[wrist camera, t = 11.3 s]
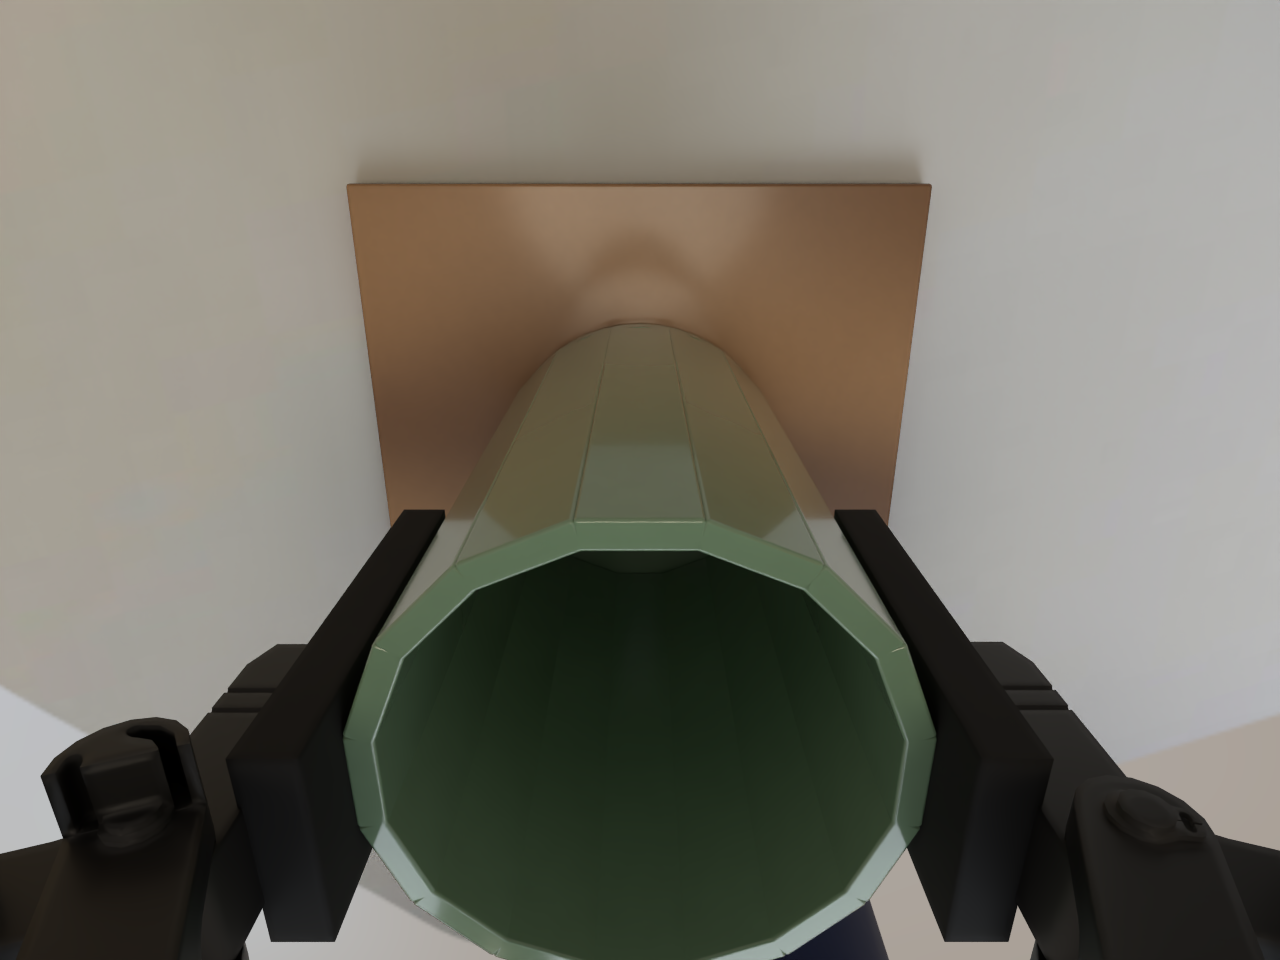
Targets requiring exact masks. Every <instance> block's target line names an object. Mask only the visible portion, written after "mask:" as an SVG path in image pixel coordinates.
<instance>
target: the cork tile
mask: <svg viewBox="0 0 1280 960" xmlns="http://www.w3.org/2000/svg"><path fill="white" fill-rule="evenodd" d="M931 189H932V186H931V184H348V185H347V194H348V202H349V210H350V217H351V225H352V233H353V240H354V248H355V256H356V263H357V271H358V279H359V286H360V294H361V302H362V309H363V317H364V325H365V332H366V340H367V348H368V355H369V363H370V371H371V378H372V386H373V394H374V401H375V409H376V417H377V424H378V432H379V440H380V447H381V455H382V463H383V470H384V478H385V486H386V493H387V501H388V509H389V516H390V524H391V527H392V526H393V524H394V523H395V521H396V520H397V519H398V517H399V516H400V514H401V513H402V512H403V510H404V509H445V517H446V516H447V514H448V513H449V511H450V509H451V507H452V506H453V504H454V502H455V500H456V499H457V497H458V495H459V494H460V492H461V490H462V488H463V487H464V485H465V483H466V481H467V480H468V478H469V476H470V475H471V473H472V471H473V469H474V468H475V466H476V464H477V462H478V461H479V459H480V457H481V455H482V454H483V452H484V450H485V449H486V447H487V445H488V443H489V442H490V440H491V438H492V436H493V435H494V433H495V431H496V429H497V428H498V426H499V424H500V423H501V421H502V419H503V417H504V416H505V414H506V412H507V410H508V409H509V407H510V405H511V404H512V402H513V400H514V398H515V397H516V395H517V393H518V391H519V390H520V388H521V387H522V386H523V385H524V384H525V383H526V382H527V381H528V380H529V378H530V377H531V376H532V375H533V374H534V372H535V371H536V370H537V369H538V368H539V367H540V365H541V364H542V363H543V362H545V361H546V360H547V359H548V358H549V357H550V356H551V355H552V354H553V353H555V352H556V351H558V350H559V349H561V348H562V347H563V346H565V345H566V344H568V343H569V342H571V341H573V340H575V339H577V338H579V337H581V336H583V335H585V334H588V333H591V332H594V331H597V330H600V329H603V328H608V327H613V326H618V325H626V324H653V325H662V326H667V327H672V328H677V329H680V330H683V331H685V332H688V333H691V334H694V335H696V336H698V337H700V338H702V339H704V340H706V341H708V342H710V343H712V344H713V345H715V346H716V347H718V348H719V349H721V350H722V351H724V352H725V353H726V354H727V355H728V356H730V357H731V358H732V359H733V360H734V361H735V362H736V363H737V364H738V365H739V366H740V367H741V368H742V369H743V370H744V372H745V373H746V374H747V375H748V376H749V378H750V379H751V380H752V381H753V382H754V383H755V385H756V386H757V387H758V388H759V389H760V391H761V392H762V394H763V395H764V397H765V399H766V401H767V402H768V404H769V406H770V408H771V409H772V411H773V413H774V415H775V416H776V418H777V420H778V422H779V423H780V425H781V427H782V428H783V430H784V432H785V434H786V435H787V437H788V439H789V441H790V442H791V444H792V446H793V448H794V449H795V451H796V453H797V454H798V456H799V458H800V460H801V461H802V463H803V465H804V467H805V468H806V470H807V472H808V474H809V475H810V477H811V479H812V481H813V482H814V484H815V486H816V487H817V489H818V491H819V493H820V494H821V496H822V498H823V500H824V501H825V503H826V505H827V507H828V508H829V510H830V512H831V513H832V515H833V517H834V512H835V509H875V510H876V511H877V512H878V514H879V515H880V517H881V518H882V519H883V521H884V522H885V523H886V525H887V526H888V520H889V513H890V505H891V497H892V490H893V482H894V474H895V466H896V459H897V451H898V443H899V436H900V428H901V420H902V413H903V405H904V397H905V389H906V382H907V374H908V366H909V359H910V351H911V343H912V335H913V328H914V320H915V312H916V305H917V297H918V289H919V282H920V274H921V266H922V258H923V251H924V243H925V235H926V228H927V220H928V212H929V204H930V197H931Z"/></svg>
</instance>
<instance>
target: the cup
mask: <svg viewBox="0 0 1280 960" xmlns="http://www.w3.org/2000/svg"><path fill="white" fill-rule="evenodd" d="M936 742H937V738H936V729H935V726H934V723H933V720H932V717H931V714H930V711H929V708H928V705H927V702H926V699H925V696H924V693H923V690H922V687H921V684H920V681H919V678H918V675H917V672H916V669H915V667H914V664H913V661H912V658H911V655H910V652H909V649H908V646H907V644H906V642H905V640H904V638H903V637H902V635H901V633H900V631H899V630H898V628H897V626H896V625H895V623H894V621H893V619H892V618H891V616H890V614H889V612H888V611H887V609H886V607H885V605H884V604H883V602H882V600H881V599H880V597H879V595H878V593H877V592H876V590H875V588H874V586H873V585H872V583H871V581H870V579H869V578H868V576H867V574H866V572H865V571H864V569H863V567H862V566H861V564H860V562H859V560H858V559H857V557H856V555H855V553H854V552H853V550H852V548H851V546H850V545H849V543H848V541H847V540H846V538H845V536H844V534H843V533H842V531H841V529H840V527H839V526H838V524H837V522H836V520H835V519H834V517H833V515H832V513H831V512H830V510H829V508H828V507H827V505H826V503H825V501H824V500H823V498H822V496H821V494H820V493H819V491H818V489H817V487H816V486H815V484H814V482H813V481H812V479H811V477H810V475H809V474H808V472H807V470H806V468H805V467H804V465H803V463H802V461H801V460H800V458H799V456H798V454H797V453H796V451H795V449H794V448H793V446H792V444H791V442H790V441H789V439H788V437H787V435H786V434H785V432H784V430H783V428H782V427H781V425H780V423H779V422H778V420H777V418H776V416H775V415H774V413H773V411H772V409H771V408H770V406H769V404H768V402H767V401H766V399H765V397H764V395H763V394H762V392H761V391H760V389H759V388H758V387H757V386H756V385H755V383H754V382H753V381H752V380H751V379H750V378H749V376H748V375H747V374H746V373H745V372H744V370H743V369H742V368H741V367H740V366H739V365H738V364H737V363H736V362H735V361H734V360H733V359H732V358H731V357H730V356H728V355H727V354H726V353H725V352H724V351H722V350H721V349H719V348H718V347H716V346H715V345H713V344H712V343H710V342H708V341H706V340H704V339H702V338H700V337H698V336H696V335H694V334H691V333H688V332H685V331H683V330H680V329H677V328H672V327H667V326H662V325H653V324H626V325H618V326H613V327H608V328H603V329H600V330H597V331H594V332H591V333H588V334H585V335H583V336H581V337H579V338H577V339H575V340H573V341H571V342H569V343H568V344H566V345H565V346H563V347H562V348H561V349H559V350H558V351H556V352H555V353H553V354H552V355H551V356H550V357H549V358H548V359H547V360H546V361H545V362H543V363H542V364H541V365H540V367H539V368H538V369H537V370H536V371H535V372H534V374H533V375H532V376H531V377H530V378H529V380H528V381H527V382H526V383H525V384H524V385H523V386H522V387H521V388H520V390H519V391H518V393H517V395H516V397H515V398H514V400H513V402H512V404H511V405H510V407H509V409H508V410H507V412H506V414H505V416H504V417H503V419H502V421H501V423H500V424H499V426H498V428H497V429H496V431H495V433H494V435H493V436H492V438H491V440H490V442H489V443H488V445H487V447H486V449H485V450H484V452H483V454H482V455H481V457H480V459H479V461H478V462H477V464H476V466H475V468H474V469H473V471H472V473H471V475H470V476H469V478H468V480H467V481H466V483H465V485H464V487H463V488H462V490H461V492H460V494H459V495H458V497H457V499H456V500H455V502H454V504H453V506H452V507H451V509H450V511H449V513H448V514H447V516H446V518H445V520H444V521H443V523H442V525H441V526H440V528H439V530H438V532H437V533H436V535H435V537H434V539H433V540H432V542H431V544H430V546H429V547H428V549H427V551H426V552H425V554H424V556H423V558H422V559H421V561H420V563H419V565H418V566H417V568H416V570H415V571H414V573H413V575H412V577H411V578H410V580H409V582H408V584H407V585H406V587H405V589H404V591H403V592H402V594H401V596H400V597H399V599H398V601H397V603H396V604H395V606H394V608H393V610H392V611H391V613H390V615H389V617H388V618H387V620H386V622H385V623H384V625H383V627H382V629H381V630H380V632H379V634H378V636H377V637H376V639H375V641H374V642H373V644H372V647H371V650H370V653H369V656H368V659H367V662H366V665H365V667H364V670H363V673H362V676H361V679H360V682H359V685H358V688H357V691H356V694H355V697H354V700H353V703H352V706H351V709H350V712H349V715H348V718H347V721H346V724H345V727H344V730H343V745H344V751H345V757H346V762H347V768H348V774H349V779H350V785H351V790H352V796H353V802H354V807H355V813H356V819H357V824H358V826H359V828H360V831H361V832H362V834H363V835H364V836H365V838H366V839H367V841H368V842H369V843H370V845H371V846H372V848H373V849H374V850H375V852H376V853H377V855H378V856H379V857H380V859H381V860H382V861H383V863H384V864H385V866H386V867H387V868H388V870H389V871H390V873H391V874H392V875H393V877H394V878H395V880H396V881H397V882H398V884H399V885H400V887H401V888H402V889H403V891H404V892H405V893H406V895H407V896H408V898H409V899H410V900H411V901H413V902H414V904H415V905H416V906H418V907H419V908H421V909H422V910H424V911H425V912H427V913H428V914H430V915H432V916H433V917H435V918H436V919H438V920H439V921H441V922H442V923H444V924H445V925H447V926H448V927H450V928H451V929H453V930H454V931H456V932H457V933H459V934H460V935H462V936H464V937H465V938H467V939H468V940H470V941H471V942H473V943H474V944H476V945H477V946H479V947H480V948H482V949H483V950H485V951H486V952H488V953H489V954H494V955H495V956H496V957H499V958H503V959H506V960H773V959H777V958H781V957H783V956H785V954H790V953H791V952H793V951H795V950H796V949H798V948H799V947H801V946H802V945H804V944H805V943H807V942H808V941H810V940H811V939H813V938H814V937H816V936H817V935H819V934H820V933H822V932H823V931H825V930H827V929H828V928H830V927H831V926H833V925H834V924H836V923H837V922H839V921H840V920H842V919H843V918H845V917H846V916H848V915H849V914H851V913H852V912H854V911H855V910H857V909H859V908H860V907H862V906H863V905H864V904H865V903H866V901H869V900H870V898H871V897H872V895H873V894H874V893H875V891H876V890H877V888H878V887H879V886H880V884H881V883H882V881H883V880H884V879H885V877H886V876H887V874H888V873H889V872H890V870H891V869H892V867H893V866H894V865H895V863H896V862H897V861H898V859H899V858H900V856H901V855H902V854H903V852H904V851H905V849H906V848H907V847H908V845H909V844H910V843H911V841H912V840H913V838H914V837H915V836H916V834H917V833H918V831H919V830H920V826H921V825H922V821H923V815H924V809H925V804H926V798H927V793H928V787H929V781H930V776H931V770H932V764H933V759H934V753H935V747H936Z"/></svg>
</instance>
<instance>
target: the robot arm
mask: <svg viewBox="0 0 1280 960" xmlns="http://www.w3.org/2000/svg"><path fill="white" fill-rule="evenodd" d="M445 518H446V517H445V509H404V510H403V512H402V513H401V514H400V516H399V517H398V519H397V520H396V521H395V523H394V524H393V526H392V527H391V528H390V530H389V531H388V533H387V534H386V535H385V537H384V538H383V540H382V541H381V542H380V544H379V545H378V547H377V548H376V549H375V551H374V552H373V553H372V555H371V556H370V558H369V559H368V560H367V562H366V563H365V565H364V566H363V567H362V569H361V570H360V572H359V573H358V574H357V576H356V577H355V579H354V580H353V581H352V583H351V584H350V586H349V587H348V588H347V590H346V591H345V593H344V594H343V595H342V597H341V598H340V600H339V601H338V602H337V604H336V605H335V607H334V608H333V609H332V611H331V612H330V614H329V615H328V616H327V618H326V619H325V620H324V622H323V623H322V625H321V626H320V627H319V629H318V630H317V632H316V633H315V634H314V636H313V637H312V639H311V640H310V641H309V643H308V644H277V645H275V646H274V647H273V648H271V649H270V650H268V651H267V652H265V653H264V654H262V655H261V656H259V657H258V658H256V659H255V660H253V661H252V662H250V663H249V664H247V665H246V667H245V668H244V669H243V670H242V672H241V673H240V674H239V675H238V676H237V678H236V679H235V680H234V681H233V683H232V684H231V685H230V686H229V688H228V692H227V693H224V694H223V695H222V696H221V697H220V699H219V700H218V701H217V702H216V704H215V705H214V706H213V707H212V712H211V713H207V715H206V716H205V717H204V718H203V720H202V721H201V722H200V723H199V725H198V726H197V727H196V728H195V729H194V731H193V732H192V733H191V734H190V735H189V731H188V729H187V728H186V727H184V726H183V725H182V724H180V723H179V722H178V721H176V720H171V719H165V718H159V717H153V718H144V719H134V720H129V721H126V722H122V723H119V724H116V725H112V726H109V727H106V728H103V729H101V730H99V731H97V732H95V733H93V734H91V735H88V736H86V737H84V738H82V739H80V740H79V741H76V742H75V743H74V744H72V745H71V746H70V747H68V748H67V749H66V750H64V751H63V752H62V753H60V754H59V755H58V756H56V757H55V758H54V759H53V760H52V762H51V763H50V764H49V766H48V767H47V768H46V770H45V771H44V772H43V773H42V775H41V779H42V782H43V784H44V787H45V790H46V793H47V795H48V798H49V801H50V803H51V806H52V809H53V812H54V815H55V817H56V820H57V823H58V825H59V828H60V831H61V834H62V836H63V839H60V840H57V841H53V842H49V843H45V844H41V845H37V846H32V847H28V848H24V849H19V850H15V851H11V852H7V853H2V854H0V960H249V956H248V951H247V948H246V944H245V941H246V939H247V937H248V935H249V933H250V931H251V929H252V927H253V925H254V923H255V921H256V919H257V917H258V915H259V914H260V912H261V910H262V908H263V912H264V916H265V920H266V924H267V928H268V932H269V936H270V940H271V942H335V940H336V938H337V935H338V933H339V930H340V928H341V925H342V923H343V920H344V918H345V915H346V913H347V910H348V908H349V905H350V903H351V900H352V898H353V895H354V893H355V890H356V888H357V885H358V883H359V880H360V878H361V875H362V873H363V870H364V868H365V865H366V863H367V860H368V858H369V855H370V853H371V850H372V846H371V845H370V843H369V842H368V841H367V839H366V838H365V836H364V835H363V834H362V832H361V831H360V828H359V826H358V824H357V819H356V813H355V807H354V802H353V796H352V790H351V785H350V779H349V774H348V768H347V762H346V757H345V751H344V745H343V730H344V727H345V724H346V721H347V718H348V715H349V712H350V709H351V706H352V703H353V700H354V697H355V694H356V691H357V688H358V685H359V682H360V679H361V676H362V673H363V670H364V667H365V665H366V662H367V659H368V656H369V653H370V650H371V647H372V644H373V642H374V641H375V639H376V637H377V636H378V634H379V632H380V630H381V629H382V627H383V625H384V623H385V622H386V620H387V618H388V617H389V615H390V613H391V611H392V610H393V608H394V606H395V604H396V603H397V601H398V599H399V597H400V596H401V594H402V592H403V591H404V589H405V587H406V585H407V584H408V582H409V580H410V578H411V577H412V575H413V573H414V571H415V570H416V568H417V566H418V565H419V563H420V561H421V559H422V558H423V556H424V554H425V552H426V551H427V549H428V547H429V546H430V544H431V542H432V540H433V539H434V537H435V535H436V533H437V532H438V530H439V528H440V526H441V525H442V523H443V521H444V520H445ZM834 519H835V520H836V522H837V524H838V526H839V527H840V529H841V531H842V533H843V534H844V536H845V538H846V540H847V541H848V543H849V545H850V546H851V548H852V550H853V552H854V553H855V555H856V557H857V559H858V560H859V562H860V564H861V566H862V567H863V569H864V571H865V572H866V574H867V576H868V578H869V579H870V581H871V583H872V585H873V586H874V588H875V590H876V592H877V593H878V595H879V597H880V599H881V600H882V602H883V604H884V605H885V607H886V609H887V611H888V612H889V614H890V616H891V618H892V619H893V621H894V623H895V625H896V626H897V628H898V630H899V631H900V633H901V635H902V637H903V638H904V640H905V642H906V644H907V646H908V649H909V652H910V655H911V658H912V661H913V664H914V667H915V669H916V672H917V675H918V678H919V681H920V684H921V687H922V690H923V693H924V696H925V699H926V702H927V705H928V708H929V711H930V714H931V717H932V720H933V723H934V726H935V729H936V738H937V742H936V747H935V753H934V759H933V764H932V770H931V776H930V781H929V787H928V793H927V798H926V804H925V809H924V815H923V821H922V825H921V826H920V830H919V831H918V833H917V834H916V836H915V837H914V838H913V840H912V841H911V843H910V844H909V845H908V847H907V849H908V851H909V854H910V856H911V859H912V861H913V864H914V866H915V869H916V871H917V874H918V876H919V879H920V881H921V884H922V886H923V889H924V891H925V894H926V896H927V899H928V901H929V904H930V906H931V909H932V911H933V914H934V916H935V919H936V921H937V924H938V926H939V929H940V931H941V934H942V936H943V939H944V941H945V942H1008V941H1009V937H1010V933H1011V929H1012V925H1013V921H1014V917H1015V913H1016V909H1017V905H1018V907H1019V909H1020V911H1021V913H1022V915H1023V916H1024V918H1025V920H1026V922H1027V924H1028V926H1029V928H1030V930H1031V932H1032V934H1033V936H1034V938H1035V944H1034V948H1033V951H1032V955H1031V959H1030V960H1280V851H1279V850H1275V849H1270V848H1266V847H1262V846H1257V845H1253V844H1249V843H1244V842H1240V841H1236V840H1232V839H1227V838H1224V837H1221V836H1218V835H1215V834H1214V833H1213V831H1212V830H1211V828H1210V827H1209V825H1208V823H1207V822H1206V820H1205V819H1204V818H1203V817H1202V816H1201V815H1199V814H1198V813H1197V812H1196V811H1195V810H1194V809H1192V808H1191V807H1190V806H1189V805H1188V804H1186V803H1185V802H1184V801H1183V800H1181V799H1179V798H1177V797H1175V796H1174V795H1172V794H1170V793H1168V792H1166V791H1165V790H1163V789H1161V788H1159V787H1157V786H1154V785H1151V784H1148V783H1145V782H1142V781H1139V780H1136V779H1133V778H1128V777H1126V776H1125V774H1124V773H1123V772H1122V771H1121V770H1120V768H1119V767H1118V766H1117V765H1116V763H1115V762H1114V761H1113V760H1112V758H1111V757H1110V756H1109V755H1108V754H1107V752H1106V751H1105V750H1104V749H1103V747H1102V746H1101V745H1100V744H1099V743H1098V741H1097V740H1096V739H1095V738H1094V736H1093V735H1092V734H1091V733H1090V732H1089V730H1088V729H1087V728H1086V727H1085V725H1084V724H1083V723H1082V722H1081V720H1080V719H1079V718H1078V717H1077V716H1076V714H1075V713H1074V712H1073V711H1072V710H1068V705H1067V703H1066V702H1065V701H1064V700H1063V698H1062V697H1061V696H1060V695H1059V694H1058V692H1057V691H1056V690H1052V685H1051V684H1050V683H1049V681H1048V680H1047V679H1046V678H1045V676H1044V675H1043V674H1042V673H1041V671H1040V670H1039V669H1038V668H1037V667H1036V665H1035V664H1034V663H1033V662H1032V661H1030V660H1029V659H1027V658H1026V657H1024V656H1023V655H1021V654H1020V653H1018V652H1017V651H1015V650H1014V649H1013V648H1011V647H1010V646H1008V645H1007V644H1005V643H1004V642H970V641H969V639H968V638H967V637H966V635H965V634H964V632H963V631H962V630H961V628H960V627H959V625H958V624H957V623H956V621H955V620H954V618H953V617H952V616H951V614H950V613H949V611H948V610H947V609H946V607H945V606H944V604H943V603H942V602H941V600H940V599H939V597H938V596H937V595H936V593H935V592H934V591H933V589H932V588H931V586H930V585H929V584H928V582H927V581H926V579H925V578H924V577H923V575H922V574H921V572H920V571H919V570H918V568H917V567H916V565H915V564H914V563H913V561H912V560H911V558H910V557H909V556H908V554H907V553H906V551H905V550H904V549H903V547H902V546H901V544H900V543H899V542H898V540H897V539H896V537H895V536H894V535H893V533H892V532H891V530H890V529H889V528H888V526H887V525H886V523H885V522H884V521H883V519H882V518H881V517H880V515H879V514H878V512H877V511H876V510H875V509H835V512H834Z"/></svg>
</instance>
